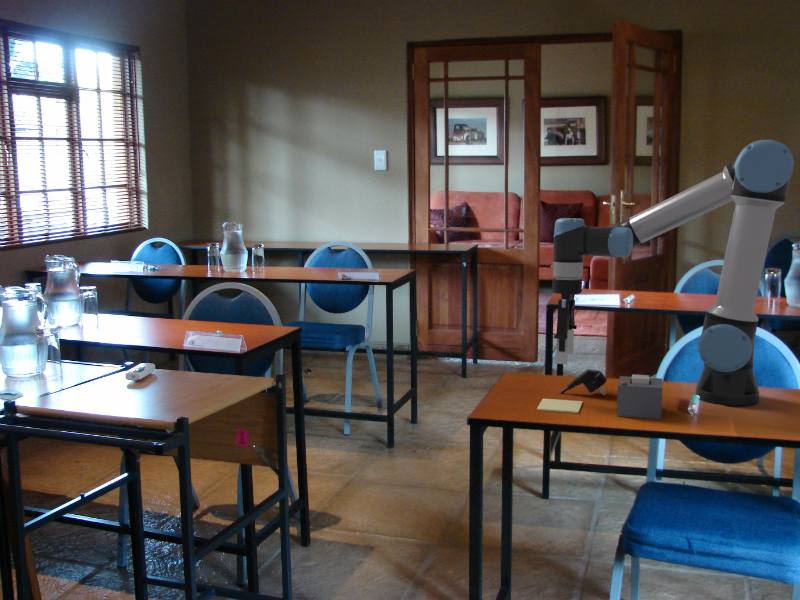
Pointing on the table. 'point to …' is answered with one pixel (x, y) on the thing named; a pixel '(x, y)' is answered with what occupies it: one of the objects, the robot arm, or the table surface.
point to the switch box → (639, 398)
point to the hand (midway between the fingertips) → (564, 358)
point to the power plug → (588, 381)
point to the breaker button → (640, 379)
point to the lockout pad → (560, 405)
